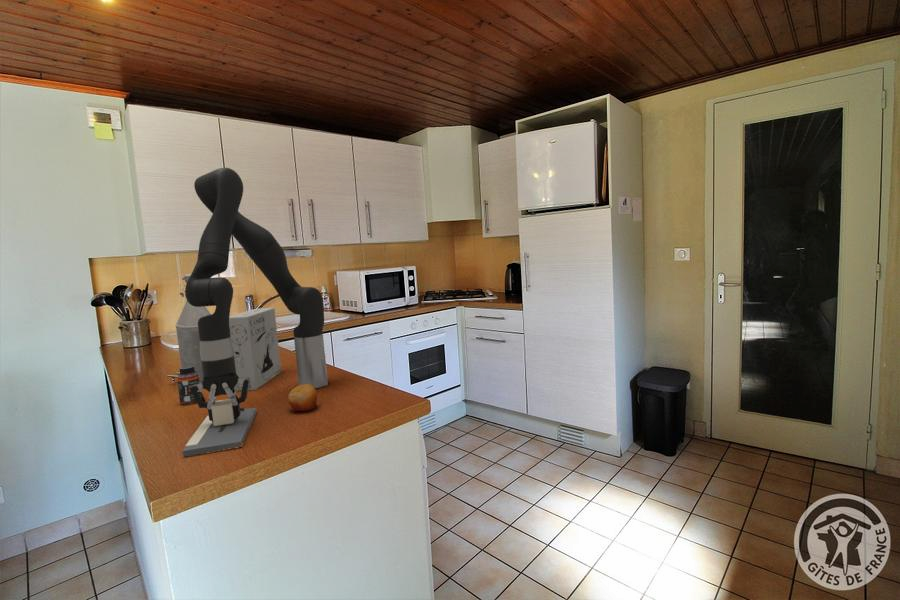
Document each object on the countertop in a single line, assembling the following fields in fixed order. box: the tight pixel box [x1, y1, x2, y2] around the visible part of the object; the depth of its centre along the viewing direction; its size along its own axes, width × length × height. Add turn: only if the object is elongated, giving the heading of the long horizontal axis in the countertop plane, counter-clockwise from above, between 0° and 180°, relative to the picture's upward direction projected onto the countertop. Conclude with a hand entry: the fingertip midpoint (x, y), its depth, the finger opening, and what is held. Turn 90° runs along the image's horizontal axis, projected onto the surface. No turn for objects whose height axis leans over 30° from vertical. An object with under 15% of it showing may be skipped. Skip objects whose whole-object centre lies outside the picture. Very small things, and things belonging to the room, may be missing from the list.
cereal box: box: [229, 307, 282, 392], centre depth 156 cm, size 22×8×25 cm, turn 179°
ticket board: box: [182, 406, 258, 458], centre depth 112 cm, size 12×24×2 cm, turn 16°
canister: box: [175, 273, 212, 383], centre depth 158 cm, size 13×17×40 cm
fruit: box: [287, 384, 318, 412], centre depth 126 cm, size 8×8×8 cm
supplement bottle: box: [176, 366, 200, 405], centre depth 138 cm, size 6×6×11 cm
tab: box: [211, 398, 235, 426], centre depth 114 cm, size 4×5×5 cm
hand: (225, 419), depth 115 cm, fingers closed on tab, 4 cm apart
